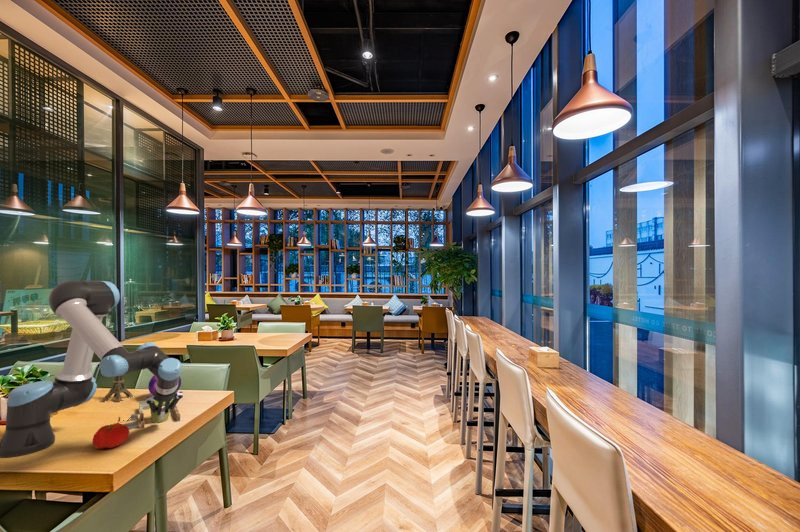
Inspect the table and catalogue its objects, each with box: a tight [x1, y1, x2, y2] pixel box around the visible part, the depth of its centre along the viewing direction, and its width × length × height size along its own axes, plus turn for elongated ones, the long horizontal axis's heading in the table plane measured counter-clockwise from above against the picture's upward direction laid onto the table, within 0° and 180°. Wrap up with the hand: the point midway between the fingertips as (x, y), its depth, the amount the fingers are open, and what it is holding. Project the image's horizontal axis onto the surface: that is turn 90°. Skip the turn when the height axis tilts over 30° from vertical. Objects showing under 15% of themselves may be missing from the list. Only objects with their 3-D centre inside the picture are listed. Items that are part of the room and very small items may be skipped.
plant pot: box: [149, 399, 173, 424], centre depth 160 cm, size 9×9×9 cm
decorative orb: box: [147, 374, 182, 396], centre depth 193 cm, size 15×15×15 cm
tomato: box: [92, 422, 130, 450], centre depth 135 cm, size 11×11×8 cm
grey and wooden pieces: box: [121, 398, 181, 430], centre depth 165 cm, size 29×22×4 cm
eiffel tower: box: [99, 375, 134, 403], centre depth 191 cm, size 11×11×25 cm
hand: (161, 416), depth 155 cm, fingers closed
